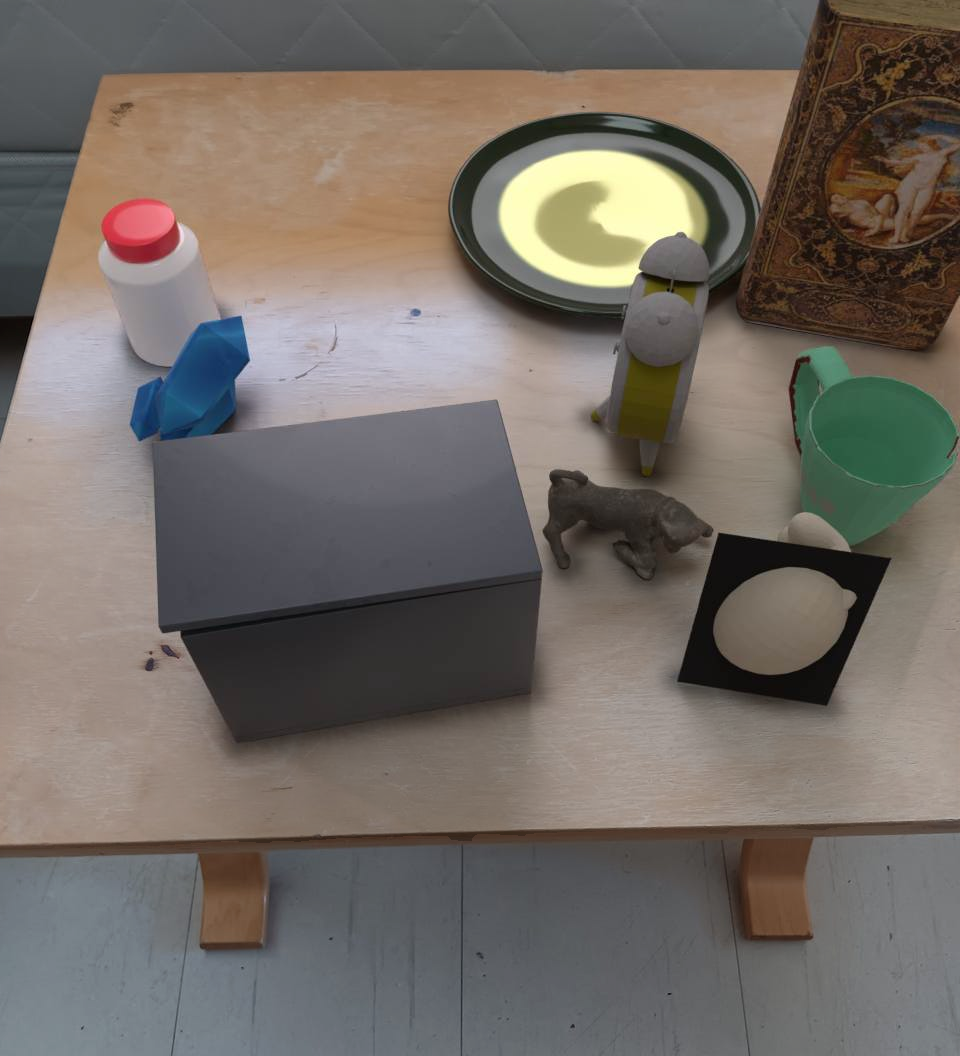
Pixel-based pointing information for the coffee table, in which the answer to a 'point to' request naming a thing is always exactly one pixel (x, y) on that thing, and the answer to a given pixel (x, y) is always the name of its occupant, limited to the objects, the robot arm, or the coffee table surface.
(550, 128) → the plate
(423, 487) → the dark grey box lid
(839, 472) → the mug
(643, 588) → the coffee table surface
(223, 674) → the dark grey storage box
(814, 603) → the decorative object
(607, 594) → the coffee table surface
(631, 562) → the dog figurine
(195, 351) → the crystal
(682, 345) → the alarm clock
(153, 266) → the pill bottle
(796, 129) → the book
